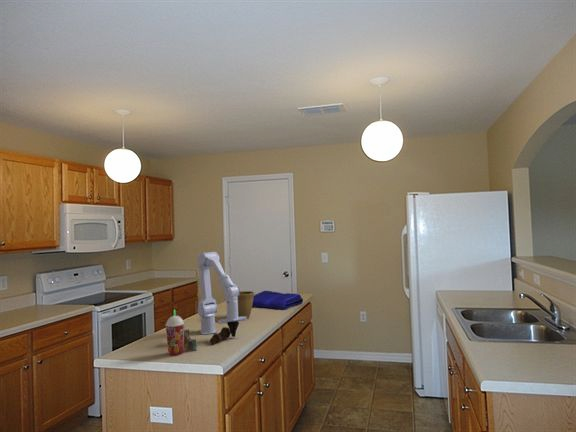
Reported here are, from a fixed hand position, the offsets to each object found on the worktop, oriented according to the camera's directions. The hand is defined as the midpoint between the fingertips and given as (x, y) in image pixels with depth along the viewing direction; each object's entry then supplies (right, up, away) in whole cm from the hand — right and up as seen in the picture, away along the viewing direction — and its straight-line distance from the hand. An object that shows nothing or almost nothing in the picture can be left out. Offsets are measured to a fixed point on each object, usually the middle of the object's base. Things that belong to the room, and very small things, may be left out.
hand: (233, 336), depth 204 cm
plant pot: (0, -3, +44) cm, 44 cm away
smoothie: (-23, -2, -22) cm, 32 cm away
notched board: (-21, -2, -9) cm, 23 cm away
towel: (+18, -3, +84) cm, 86 cm away
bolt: (-6, -2, -3) cm, 7 cm away
